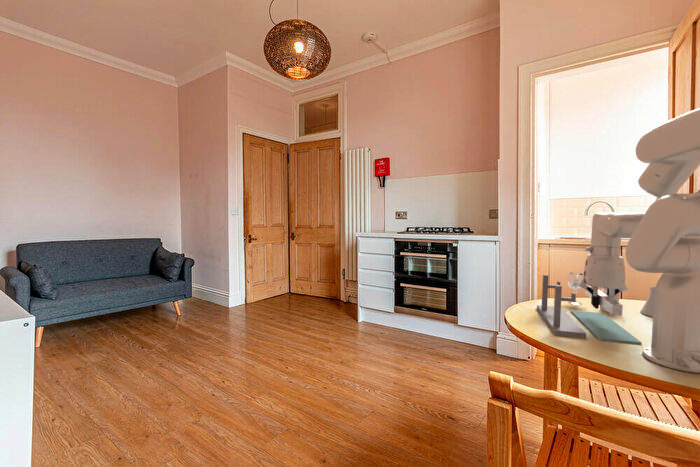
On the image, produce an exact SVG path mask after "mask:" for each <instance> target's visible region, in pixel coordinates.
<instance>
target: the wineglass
mask: <svg viewBox="0 0 700 467" xmlns="http://www.w3.org/2000/svg"><path fill="white" fill-rule="evenodd" d="M583 274H584V273H582V272H569V273H568V276H567V286H568V287H569V288H570V289H573V290H574V291H573V293H575V294H576V295H577V294H578V291H579V290H582V289H583V288H582V287H580V286H579V284H580V282H581V281H582V279H583ZM567 303H568V304H570V305H576V306H579V305H582V302H578V301H577V300H576V301H575V302H569V301H567Z"/></svg>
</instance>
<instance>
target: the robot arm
mask: <svg viewBox="0 0 700 467" xmlns="http://www.w3.org/2000/svg"><path fill="white" fill-rule="evenodd" d="M635 156H636V158H637V159H638V160H639V161H640V162H642V163H645V164H648V165H647V167H646V168H645V170H644V171H643V172H642V173H641V175H640V176H639V178H638V181H637V183H638V185H639V187H640V189H642V190H643V191H644V192H646V193H647V194H650V195H652V196H654V197H656V199H655V201H654V202H652V203H651V205H649V207H648V208H647V210H646V211H645V212H643V211H642V212H641V211H640V212H637V211H636V212H630V211H629V212H596V213H595V214H593V216H592V222H591V234H590V235H591V239H590V245H589V246H587V247H585V249H584V251H585V252H588V253H589V254H587V257H586V260H585V263H584V269H583V273H582V274H583V279H582V281H581V282H580V284H579V286H580V287H582V289H584V290H585V289H586V290H588V291H589V292H590V293H591V294H592V298H590V299H591V300H590V301H591V303H590V304H591V305H592V307H593V308H594V309H597V310H598V309H600V305H599V297H598V289H599V288H601V289H604V288H607V294H606V295H608V296H609V297H611V298H613V297H614V296H615V295H616V294H618V293H619V294H620V293H622V292H625V291H627V290H628V287H627V285H626V269H625V268H626V265H625V260H626V263H627V264H628V265H629V266H630V267H631V268H632V269H633V270H635V271H638V272H641V273H646V274H647V273H649V274H661V275H660V277H659V278H658V280H657V283H656V285H655V287H656V288H655V296H654V310H653V317H652V327H651V340H650V341H651V342H650V343H651V344H650V346H646V347H644V348H643V349H642V355H643V357H645V358H646V359H647V360H649V361H651V362H653V363H654V364H655V363H656V364H658V365H660V366H663V367H667V368H670V369H674V370H678V371H682V372H687V373H694V374H700V189H698V190H697V191H695V192H692V193H678V192H679V190H680V189H681V188H682V187H683V185H684V184H685V183H686V182H687V181H688V180H689V179H690V177H692V174H694V172H695V171H696V170H698V168H699V167H700V108H697V109H694V110H691V111H688V112H686V113H684V114H681V115H679V116H677V117H675V118H672V119H670V120H668V121H666V122H662V123H661V124H658V125H656V126H655V127H652V128H651V129H649V130H648V131H647V132H645V133H644V134H643V135H642V136H641V138H639V140H638V142H637V144H636V145H635ZM622 239H629V240H628V242H627V244H626V248H625V254H624V255H625V259H624V256H621V245H622ZM589 286H591V288H590V287H589Z"/></svg>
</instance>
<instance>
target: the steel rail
mask: <svg viewBox="0 0 700 467" xmlns="http://www.w3.org/2000/svg"><path fill="white" fill-rule="evenodd" d="M588 286H589V285H588ZM589 287H590V288H591V286H589ZM584 295H585V296H587V297H588V298H590V299H591V298H592V294H591V293H590V292H589V291H588V290H586V289H584ZM598 297H599V307H600V306H601V307H603V308H604V309H605V310H607V311H608V312H607V313H609V314H610V315H611V316H623V309H624V308H623V306H624V305H623V304H621V303H620V302H619V303H618V302H617V301H615V300H614V299H612V298H611V297H609V296H608V295H606V294H605V293H603V292H602V291H601V290H600V289H599V288H598Z"/></svg>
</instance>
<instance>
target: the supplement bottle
mask: <svg viewBox="0 0 700 467" xmlns="http://www.w3.org/2000/svg"><path fill="white" fill-rule="evenodd" d="M600 291H602V292H603V293H605V294H607V288H602V289H601V290H600ZM612 299H614V300H615V301H617V302H618V303H620V302H619V301H620V292H619V293H618V294H616V295H615V296H614V297H613V298H612ZM599 310H601V311H603V312H606V313H609V312H608V311H607V310H605V309H604V308H603V307H601V306H600V305H599Z"/></svg>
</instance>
